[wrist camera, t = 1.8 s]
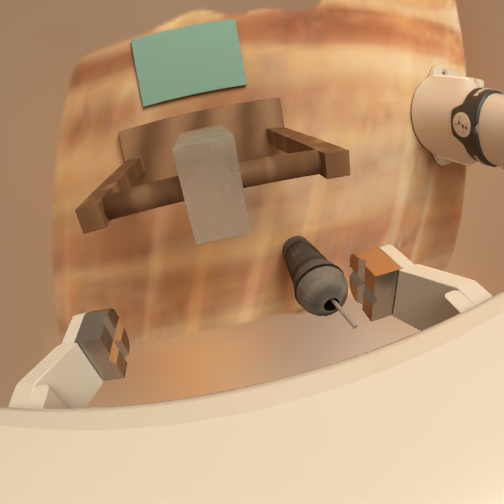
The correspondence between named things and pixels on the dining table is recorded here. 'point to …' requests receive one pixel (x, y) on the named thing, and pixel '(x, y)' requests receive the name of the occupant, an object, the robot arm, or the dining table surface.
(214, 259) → the dining table surface
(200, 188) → the tall rectangular pillar
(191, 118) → the stand
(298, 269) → the beverage cup
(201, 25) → the mat
